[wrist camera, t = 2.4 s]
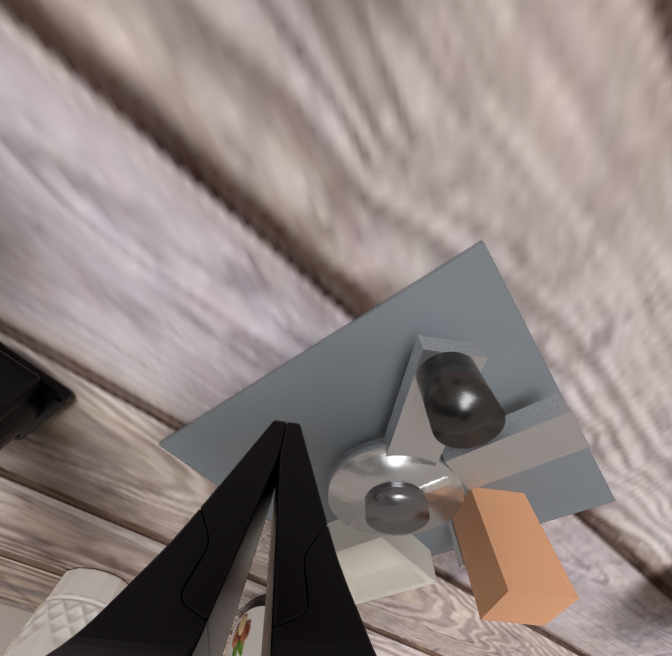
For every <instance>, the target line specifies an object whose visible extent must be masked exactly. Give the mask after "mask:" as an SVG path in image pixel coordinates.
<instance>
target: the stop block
mask: <svg viewBox="0 0 672 656" xmlns="http://www.w3.org/2000/svg"><path fill="white" fill-rule="evenodd" d="M452 520H453V524H454V527H455V531H456V534H457V538H458V541H459V545H460V548H461V552H462V555H463V559H464V562H465V566H466V569H467V573H468V576H469V580H470V583H471V587H472V590H473V594H474V597H475V601H476V604H477V608H478V611H479V615H480V618H481V620H491V621H501V622H511V623H520V624H530V625H540V626H545V625H546V624H547V623H548V622H550V621H551V620H552V619H553V618H555V617H556V616H557V615H559V614H560V613H561V612H562V611H564V610H565V609H566V608H567V607H569V606H570V605H571V604H573V603H574V602H575V601H576V600H578V599H579V598H578V596H577V594H576V592H575V590H574V588H573V586H572V584H571V582H570V580H569V578H568V576H567V575H566V573H565V571H564V569H563V567H562V565H561V563H560V561H559V559H558V557H557V555H556V553H555V551H554V550H553V548H552V546H551V544H550V542H549V540H548V538H547V536H546V534H545V532H544V530H543V528H542V526H541V524H540V523H539V521H538V519H537V517H536V515H535V513H534V511H533V509H532V507H531V505H530V503H529V501H528V499H527V497H526V496H525V494H524V493H518V492H510V491H502V490H493V489H485V488H474V489H471V490H468V491H467V493H466V495H465V496H464V500H463V503H462V506H461V508H460V509H459V510H458V512H457V513H456V514H455V515H454V516H453V517H452Z"/></svg>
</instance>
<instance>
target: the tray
mask: <svg viewBox="0 0 672 656" xmlns="http://www.w3.org/2000/svg"><path fill="white" fill-rule="evenodd" d="M327 526H328V527H329V530H330V534H331V537H332V541H333V544H334V547H335V551H336V554H337V557H338V560H339V563H340V566H341V569H342V571H343V574H344V577H345V579H346V582H347V585H348V587H349V590H350V592H351V595H352V597H353V600H354V602H355V605H356V604H360V603H363V602H367V601H371V600H375V599H378V598H382V597H386V596H390V595H394V594H397V593H401V592H405V591H409V590H412V589H416V588H420V587H424V586H427V585H431V584H435V583H437V581H436V576H435V571H434V566H433V561H432V557H431V552H430V550H429V549H428V548H427V547H426V546H425V545H424V544H422V543H421V542H420V541H419V540H418V539H417V538H416V537H415V536H414V535H405V536H382V535H374V534H370V533H365V532H362V531H359V530H356V529H354V528H352V527H350V526H348V525H346V524H345V523H343V522H342V521H340V520H339V519H338V520H335V521H332V522H330V523H328V525H327Z"/></svg>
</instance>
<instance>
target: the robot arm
mask: <svg viewBox="0 0 672 656" xmlns="http://www.w3.org/2000/svg"><path fill="white" fill-rule="evenodd" d="M71 398H72V395H71V393H70V392H69V391H68V390H66V389H65V388H63V387H62V386H60V385H59V384H57V383H56V382H54V381H53V380H51V379H50V378H48V377H47V376H45V375H44V374H42V373H41V372H40V371H38V370H37V369H35V368H34V367H32V366H31V365H29V364H28V363H26V362H25V361H23V360H22V359H20V358H19V357H17V356H16V355H14V354H13V353H11V352H10V351H8V350H7V349H5V348H4V347H2V346H1V345H0V450H1V449H2V448H4V447H5V446H6V445H7V444H8V443H9V442H11V441H12V440H13V439H16V440H22V439H24V438H25V437H26V436H27V435H28V434H30V433H31V432H32V431H33V430H35V429H36V428H37V427H38V426H39V425H41V424H42V423H43V422H44V421H45V420H47V419H48V418H49V417H50V416H52V415H53V414H54V413H55V412H56V411H58V410H59V409H60V408H61V407H63V406H64V405H65V404H66V403H67V402H68V401H70V400H71ZM274 490H275V493H274ZM273 494H274V501H273V514H272V526H271V538H270V551H269V563H268V576H267V588H266V600H265V613H264V625H263V638H262V650H261V656H377V655H376V653H375V651H374V649H373V647H372V644H371V642H370V639H369V637H368V635H367V632H366V630H365V627H364V625H363V622H362V620H361V617H360V615H359V612H358V610H357V607H356V605H355V602H354V600H353V597H352V595H351V592H350V590H349V587H348V585H347V582H346V579H345V577H344V574H343V571H342V569H341V566H340V563H339V560H338V557H337V554H336V551H335V547H334V544H333V541H332V537H331V534H330V530H329V527H328V526H327V525H328V523H327V519H326V516H325V512H324V509H323V505H322V501H321V498H320V494H319V490H318V487H317V483H316V479H315V476H314V472H313V468H312V465H311V461H310V458H309V454H308V450H307V447H306V443H305V439H304V436H303V432H302V428H301V425H300V424H299V423H294V422H288V423H286V421H281V420H274V421H273V422H272V423H271V424H270V425H269V426H268V428H267V429H266V430H265V431H264V432H263V434H262V435H261V436H260V437H259V438H258V439H257V441H256V442H255V443H254V444H253V445H252V447H251V448H250V449H249V450H248V451H247V453H246V454H245V455H244V456H243V457H242V459H241V460H240V461H239V462H238V463H237V465H236V466H235V467H234V468H233V469H232V471H231V472H230V473H229V474H228V475H227V477H226V478H225V479H224V480H223V481H222V483H221V484H220V485H219V486H218V487H217V489H216V490H215V491H214V492H213V493H212V495H211V496H210V497H209V498H208V499H207V501H206V502H205V503H204V504H203V505H202V507H201V510H198V511H197V512H196V514H195V515H194V516H193V517H192V518H191V520H190V521H189V522H188V523H187V524H186V525H185V526H184V528H183V529H182V530H181V531H180V532H179V533H178V534H177V536H176V537H175V538H174V539H173V540H172V541H171V542H170V543H169V544H168V545H167V546H166V547H165V548H164V549H163V550H162V551H161V553H160V554H159V555H158V556H157V557H156V558H155V559H154V560H153V561H152V562H151V563H150V564H149V565H148V566H147V567H146V568H145V569H144V570H143V571H142V572H141V573H140V574H139V575H138V576H137V577H136V578H135V579H134V580H132V581H131V582H130V583H129V584H128V585H127V586H126V587H125V588H124V589H123V590H122V591H121V592H120V593H119V594H118V595H117V596H116V597H115V598H114V599H113V600H112V601H111V602H110V603H109V604H108V605H107V606H106V607H105V608H104V609H103V610H102V611H101V612H100V613H99V614H98V615H97V616H96V617H95V618H94V619H93V620H92V621H90V622H89V623H88V624H87V625H86V626H85V627H84V628H83V629H81V630H80V631H79V632H78V633H76V634H75V635H74V636H73V637H71V638H70V639H69V640H67V641H66V642H65V643H63V644H62V645H60V646H59V647H58V648H56V649H55V650H53V651H52V652H50V653H48V654H47V655H45V656H222V655H223V652H224V649H225V646H226V642H227V639H228V636H229V633H230V630H231V627H232V624H233V621H234V617H235V614H236V611H237V608H238V605H239V602H240V599H241V595H242V592H243V589H244V586H245V583H246V580H247V577H248V573H249V570H250V567H251V564H252V561H253V558H254V555H255V552H256V548H257V545H258V542H259V539H260V536H261V533H262V530H263V526H264V523H265V520H266V517H267V514H268V511H269V508H270V505H271V501H272V498H273Z"/></svg>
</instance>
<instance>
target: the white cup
mask: <svg viewBox="0 0 672 656" xmlns="http://www.w3.org/2000/svg"><path fill="white" fill-rule="evenodd" d="M127 585H128V584H127V583H126V582H124V581H123V580H122V579H121V578H119V577H117V576H115V575H112V574H110V573H107V572H104V571H100V570H96V569H86V568H77V569H72V570H68V571H66V572H65V574H64V575H63V576H62V577H61V578H60V580H59V581H58V582H57V584H56V585H55V587H54V588H53V589H52V591H51V592H50V594H49V595H48V596H47V598H46V599H45V600H44V603H42V604H41V605H40V606H39V607H38V608H37V609H36V611H35V612H34V613H33V615H32V616H31V618H30V619H29V620H28V622H27V623H26V624H25V625H24V627H23V628H22V629H21V631H20V632H19V633H18V635H17V636H16V637H15V639H14V640H13V642H12V643H11V644H10V646H9V647H8V648H7V650H6V651H5V653H4V654H3V656H45V655H47V654H48V653H50V652H52V651H53V650H55V649H56V648H58V647H59V646H60V645H62V644H63V643H65V642H66V641H67V640H69V639H70V638H71V637H73V636H74V635H75V634H76V633H78V632H79V631H80V630H81V629H83V628H84V627H85V626H86V625H87V624H88V623H89V622H90V621H92V620H93V619H94V618H95V617H96V616H97V615H98V614H99V613H100V612H101V611H102V610H103V609H104V608H105V607H106V606H107V605H108V604H109V603H110V602H111V601H112V600H113V599H114V598H115V597H116V596H117V595H118V594H119V593H120V592H121V591H122V590H123V589H124V588H125V587H126V586H127Z"/></svg>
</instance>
